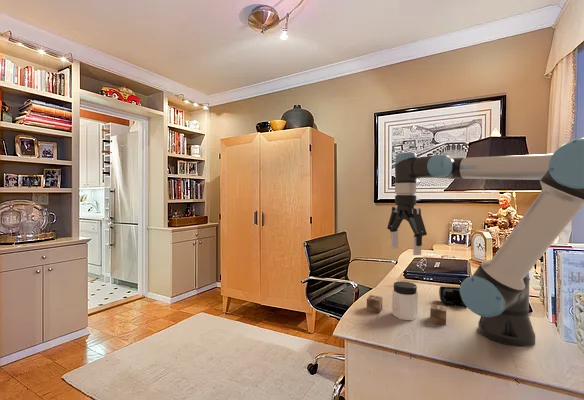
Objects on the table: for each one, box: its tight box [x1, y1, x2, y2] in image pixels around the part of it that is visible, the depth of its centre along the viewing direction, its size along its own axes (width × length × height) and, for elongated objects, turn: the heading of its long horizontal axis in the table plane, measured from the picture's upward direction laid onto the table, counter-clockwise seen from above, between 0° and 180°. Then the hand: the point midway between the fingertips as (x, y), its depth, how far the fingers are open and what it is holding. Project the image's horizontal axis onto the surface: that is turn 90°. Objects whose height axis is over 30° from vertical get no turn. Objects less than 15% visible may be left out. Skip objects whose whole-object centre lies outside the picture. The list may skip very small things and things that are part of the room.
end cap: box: [438, 285, 468, 308], centre depth 124 cm, size 10×7×7 cm
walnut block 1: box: [429, 303, 447, 326], centre depth 107 cm, size 5×5×5 cm
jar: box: [391, 280, 419, 321], centre depth 112 cm, size 9×8×12 cm
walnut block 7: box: [366, 294, 383, 314], centre depth 117 cm, size 5×5×5 cm
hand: (405, 251), depth 111 cm, fingers open, 12 cm apart
